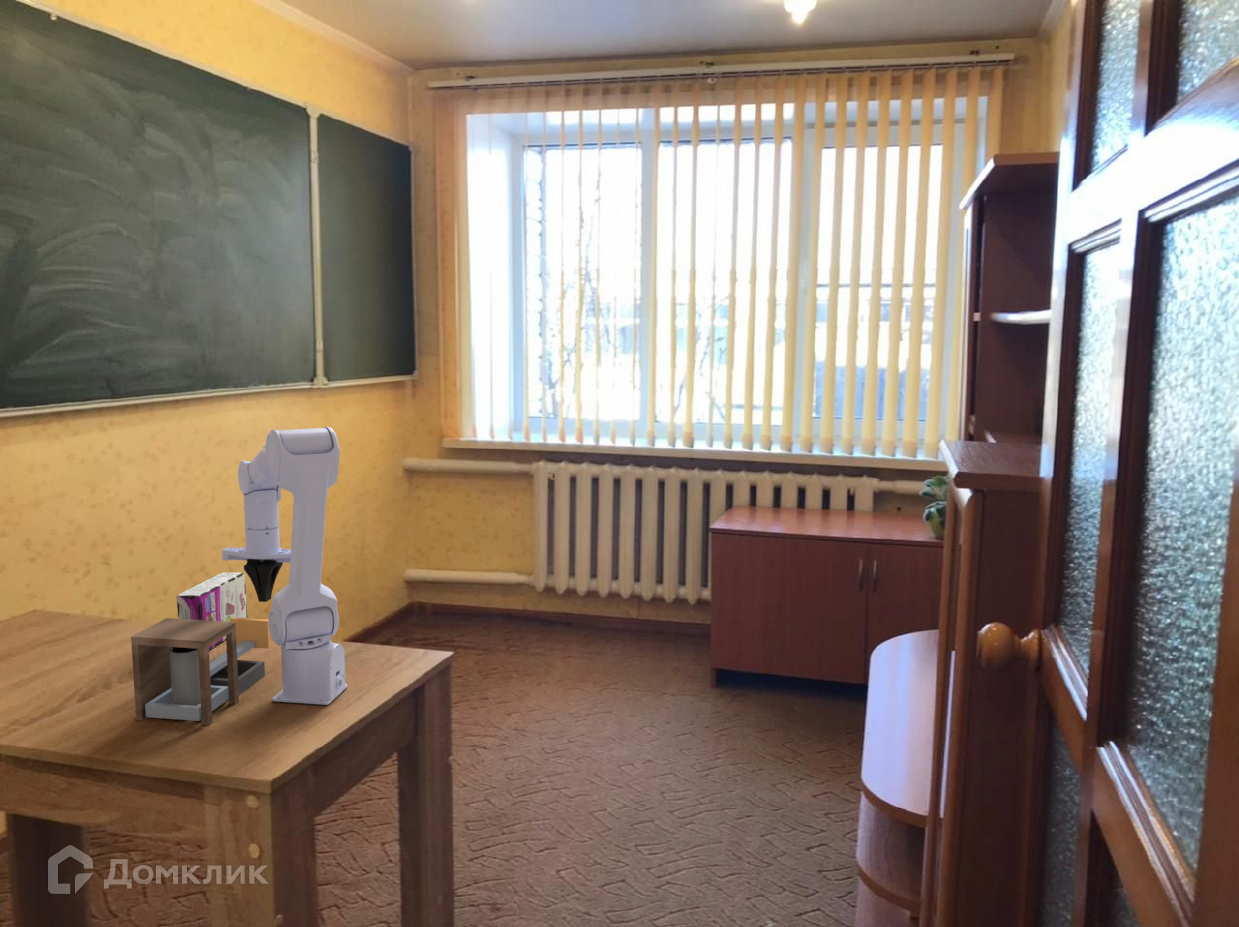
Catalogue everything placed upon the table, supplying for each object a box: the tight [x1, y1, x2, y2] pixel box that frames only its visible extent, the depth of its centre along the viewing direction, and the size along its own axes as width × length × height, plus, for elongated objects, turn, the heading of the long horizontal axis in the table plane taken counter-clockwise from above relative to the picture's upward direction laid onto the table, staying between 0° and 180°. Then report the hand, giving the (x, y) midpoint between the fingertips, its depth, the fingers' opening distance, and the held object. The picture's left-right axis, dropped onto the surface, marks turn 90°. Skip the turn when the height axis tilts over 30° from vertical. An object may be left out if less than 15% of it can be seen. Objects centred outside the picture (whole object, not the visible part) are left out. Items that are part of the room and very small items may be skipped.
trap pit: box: [209, 657, 266, 696], centre depth 156 cm, size 9×9×2 cm
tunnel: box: [130, 617, 240, 726], centre depth 144 cm, size 12×9×13 cm
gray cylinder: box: [169, 647, 201, 706], centre depth 145 cm, size 4×4×10 cm
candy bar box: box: [176, 571, 248, 651], centre depth 177 cm, size 11×5×16 cm
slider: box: [145, 617, 272, 722], centre depth 152 cm, size 9×24×8 cm, turn 173°
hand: (264, 600), depth 168 cm, fingers closed
